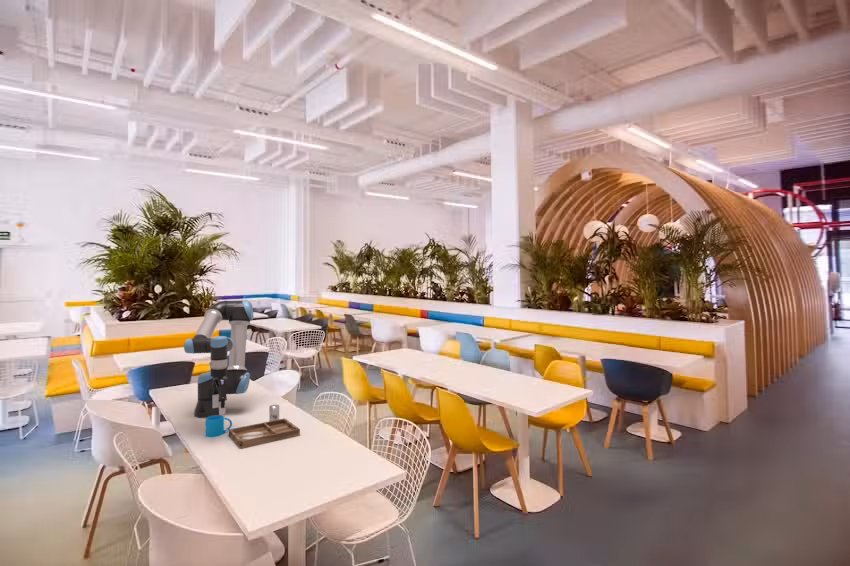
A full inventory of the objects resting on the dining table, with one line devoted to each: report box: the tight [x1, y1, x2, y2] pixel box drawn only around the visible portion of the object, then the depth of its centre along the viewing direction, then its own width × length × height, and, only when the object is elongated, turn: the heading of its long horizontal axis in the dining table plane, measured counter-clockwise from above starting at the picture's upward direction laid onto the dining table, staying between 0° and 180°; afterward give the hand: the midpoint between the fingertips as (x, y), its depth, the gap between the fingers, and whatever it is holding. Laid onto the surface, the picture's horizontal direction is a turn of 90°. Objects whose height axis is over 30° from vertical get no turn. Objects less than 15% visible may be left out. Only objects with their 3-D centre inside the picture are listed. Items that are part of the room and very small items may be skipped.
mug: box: [204, 414, 233, 438], centre depth 217 cm, size 12×8×8 cm
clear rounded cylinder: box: [268, 404, 280, 422], centre depth 233 cm, size 5×5×9 cm
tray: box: [228, 417, 301, 450], centre depth 215 cm, size 20×28×3 cm
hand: (218, 410), depth 217 cm, fingers open, 13 cm apart
